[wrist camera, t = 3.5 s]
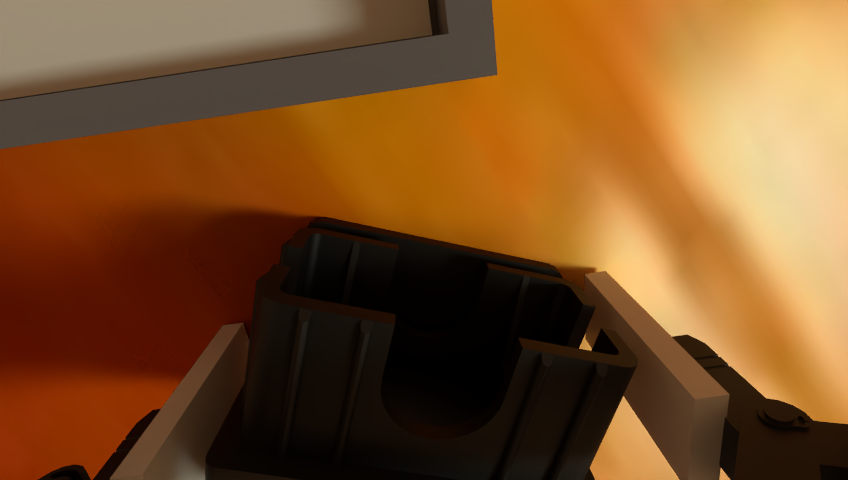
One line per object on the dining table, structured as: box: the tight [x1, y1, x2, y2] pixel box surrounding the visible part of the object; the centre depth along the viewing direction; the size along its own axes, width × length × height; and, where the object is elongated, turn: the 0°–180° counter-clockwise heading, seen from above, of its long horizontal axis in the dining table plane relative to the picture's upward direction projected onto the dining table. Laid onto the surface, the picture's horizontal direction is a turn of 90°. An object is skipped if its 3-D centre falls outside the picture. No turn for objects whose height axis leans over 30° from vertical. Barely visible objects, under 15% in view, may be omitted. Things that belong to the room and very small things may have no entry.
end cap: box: [205, 217, 638, 480], centre depth 14 cm, size 10×7×7 cm
